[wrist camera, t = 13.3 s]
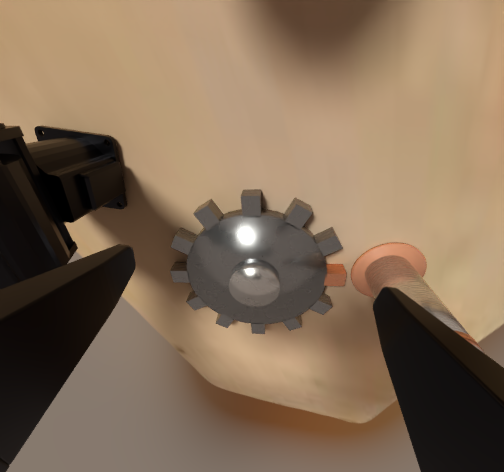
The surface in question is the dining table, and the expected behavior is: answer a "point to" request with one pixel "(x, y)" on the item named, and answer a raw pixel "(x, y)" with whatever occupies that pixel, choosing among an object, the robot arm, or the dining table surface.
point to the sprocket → (257, 263)
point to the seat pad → (380, 251)
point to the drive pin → (411, 289)
